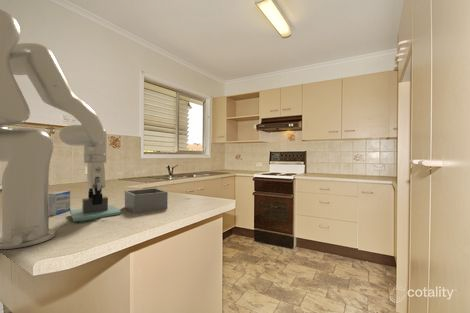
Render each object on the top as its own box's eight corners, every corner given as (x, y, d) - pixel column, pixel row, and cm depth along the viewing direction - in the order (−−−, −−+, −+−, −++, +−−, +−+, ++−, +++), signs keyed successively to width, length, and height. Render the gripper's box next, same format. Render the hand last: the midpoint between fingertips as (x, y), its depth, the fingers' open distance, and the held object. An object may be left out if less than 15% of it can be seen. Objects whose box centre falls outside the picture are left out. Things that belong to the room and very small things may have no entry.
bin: (167, 209, 97) (167, 191, 97) (134, 215, 88) (134, 195, 88) (155, 204, 108) (155, 188, 108) (124, 208, 98) (124, 191, 98)
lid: (120, 216, 86) (120, 198, 86) (73, 224, 76) (73, 204, 76) (112, 209, 97) (112, 193, 97) (70, 215, 87) (70, 197, 87)
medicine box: (55, 215, 87) (55, 193, 87) (44, 215, 87) (44, 193, 87) (70, 210, 95) (70, 190, 95) (60, 210, 95) (60, 190, 95)
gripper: (110, 159, 83) (110, 204, 83) (102, 159, 96) (101, 198, 96) (87, 159, 78) (86, 207, 78) (81, 159, 91) (81, 200, 91)
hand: (95, 202), depth 87 cm, fingers open, 9 cm apart
